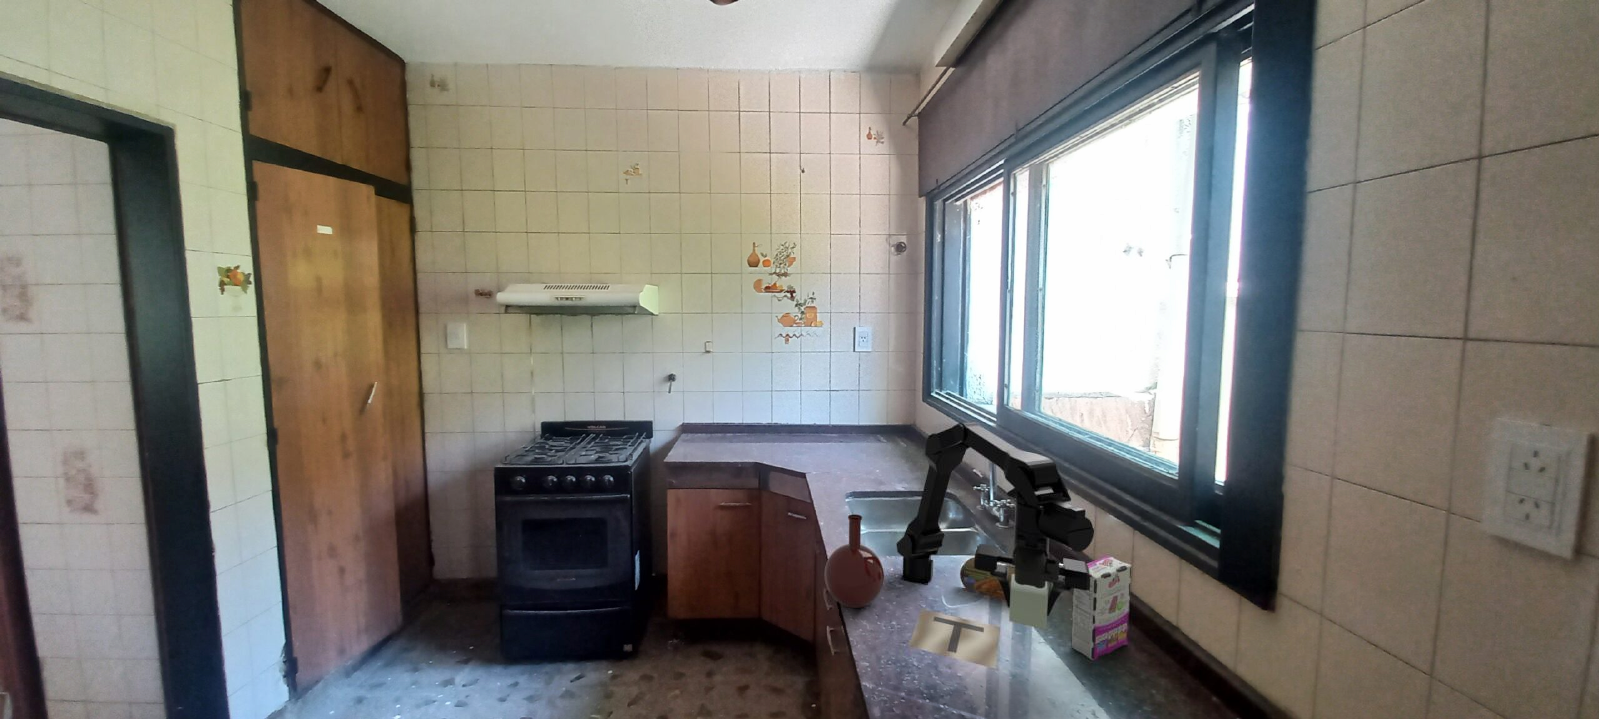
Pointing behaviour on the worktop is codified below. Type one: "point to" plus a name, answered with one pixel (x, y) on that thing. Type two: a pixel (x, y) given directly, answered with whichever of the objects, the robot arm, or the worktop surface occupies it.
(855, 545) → the round-bottom flask
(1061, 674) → the worktop surface
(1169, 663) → the worktop surface
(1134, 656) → the worktop surface
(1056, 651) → the worktop surface
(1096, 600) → the candy bar box
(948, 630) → the board
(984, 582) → the tin
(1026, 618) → the green block
